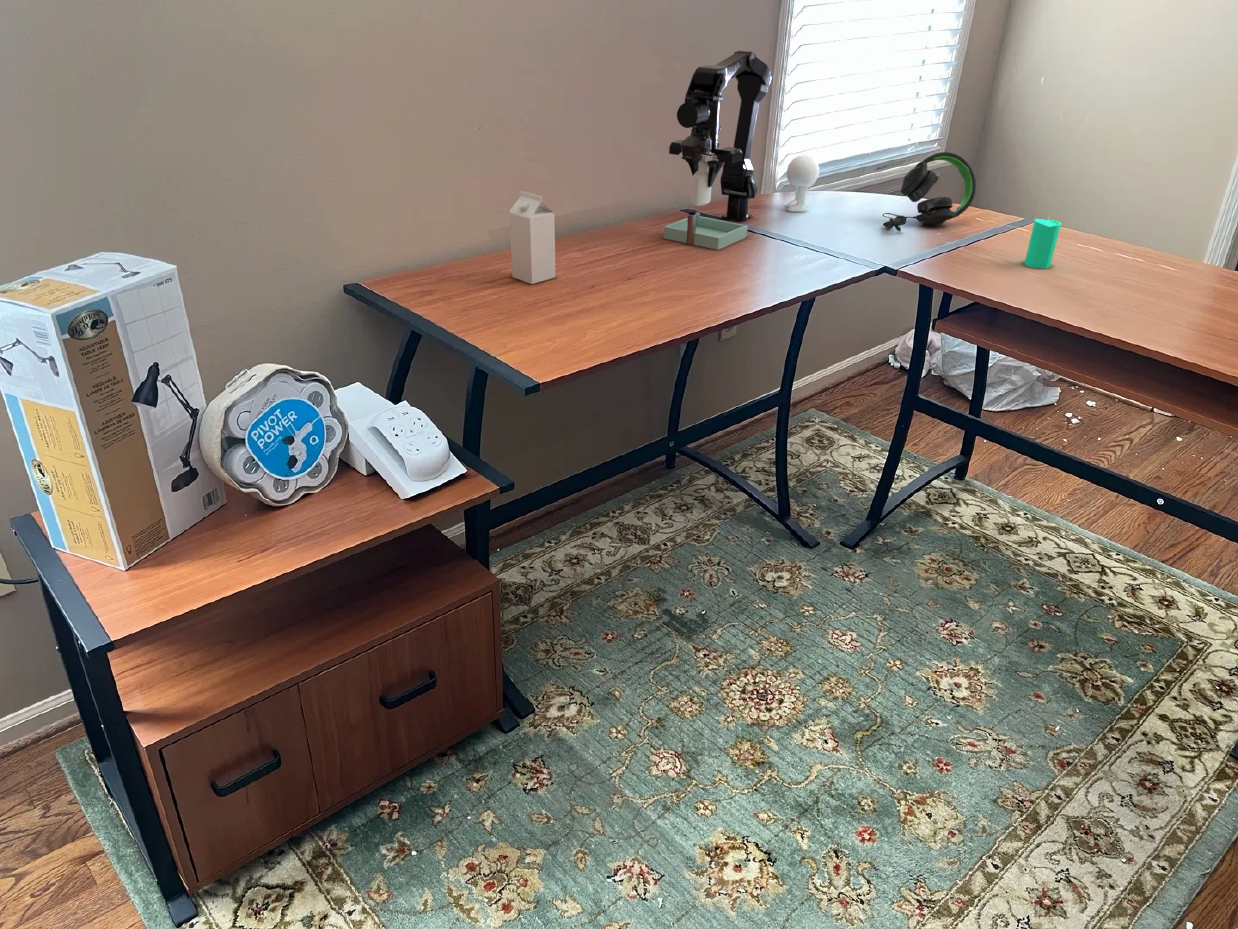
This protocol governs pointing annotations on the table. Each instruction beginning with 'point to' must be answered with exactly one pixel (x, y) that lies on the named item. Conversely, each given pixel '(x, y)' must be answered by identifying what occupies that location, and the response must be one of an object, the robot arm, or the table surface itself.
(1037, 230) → the candle
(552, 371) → the table surface
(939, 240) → the table surface
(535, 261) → the milk carton
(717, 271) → the table surface
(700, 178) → the eye dropper bottle
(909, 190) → the headset
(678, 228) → the green tray
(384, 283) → the table surface
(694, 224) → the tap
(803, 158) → the toy character
